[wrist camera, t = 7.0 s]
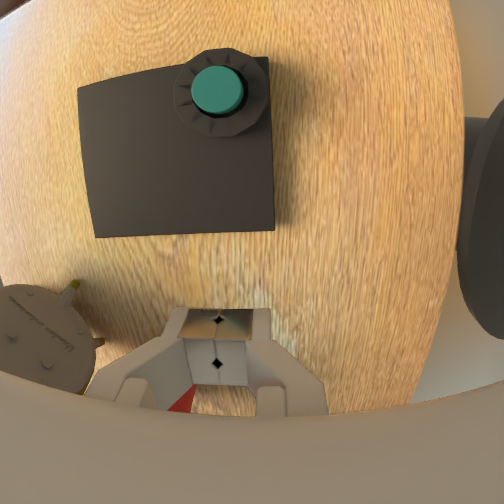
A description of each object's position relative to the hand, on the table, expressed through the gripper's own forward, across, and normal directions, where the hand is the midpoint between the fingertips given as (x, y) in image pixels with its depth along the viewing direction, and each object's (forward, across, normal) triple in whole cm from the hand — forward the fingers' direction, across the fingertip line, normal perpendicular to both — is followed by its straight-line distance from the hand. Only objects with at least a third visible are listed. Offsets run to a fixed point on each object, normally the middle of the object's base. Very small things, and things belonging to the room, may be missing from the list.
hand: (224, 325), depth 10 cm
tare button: (+11, +1, -8) cm, 14 cm away
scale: (+14, +5, -5) cm, 16 cm away
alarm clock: (+14, +18, +9) cm, 24 cm away
